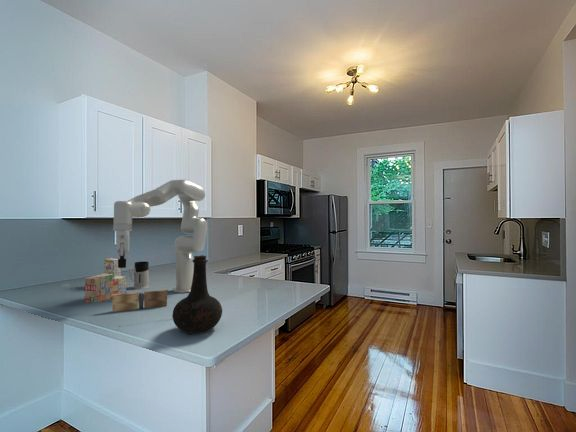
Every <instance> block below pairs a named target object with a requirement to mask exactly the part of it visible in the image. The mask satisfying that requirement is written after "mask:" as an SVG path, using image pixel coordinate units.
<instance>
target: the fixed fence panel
mask: <svg viewBox="0 0 576 432" xmlns="http://www.w3.org/2000/svg"><path fill="white" fill-rule="evenodd" d="M167 306H168V290H167V289H158V290H149V291H144V292H139V294H138V310H143V309H150V308H151V309H153V308H160V307H167Z"/></svg>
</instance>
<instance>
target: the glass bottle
mask: <svg viewBox="0 0 576 432" xmlns="http://www.w3.org/2000/svg"><path fill="white" fill-rule="evenodd" d="M192 262H194V263H193V280H192V285H191V290H190V292H188V294H187V296H186V297H184V298H182V299H180V300H179V301H178V302H177V303H176V304H175V306H174V307H173V311H172V316H171V317H172V320H173V321H172V322H173V323H174V325H175V327H177V329H179V331H182V332H184V333H188V334H203V333H207V332H209V331H211V330H212V329H214V328H215V326H217V324H218V323H219V322H220V320H221V317H222V316H223V307H222V304H221V303H220V301H219V300H218V299H217V298H215V297H213V296H211V295H210V293H209V289H208V284H207V263H208V262H209V260H208V259H207V256H206V255H195V256H194V255H193V260H192Z"/></svg>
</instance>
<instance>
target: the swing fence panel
mask: <svg viewBox="0 0 576 432" xmlns="http://www.w3.org/2000/svg"><path fill="white" fill-rule="evenodd" d="M139 293H140V292H139V291H136V292H135V291H134V292H126V293H123V294H112V297H113V298H112V306H111V307H112V308H111V309H112V312H113V313H114V312H123V311H124V312H125V311H133V310H139Z"/></svg>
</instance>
